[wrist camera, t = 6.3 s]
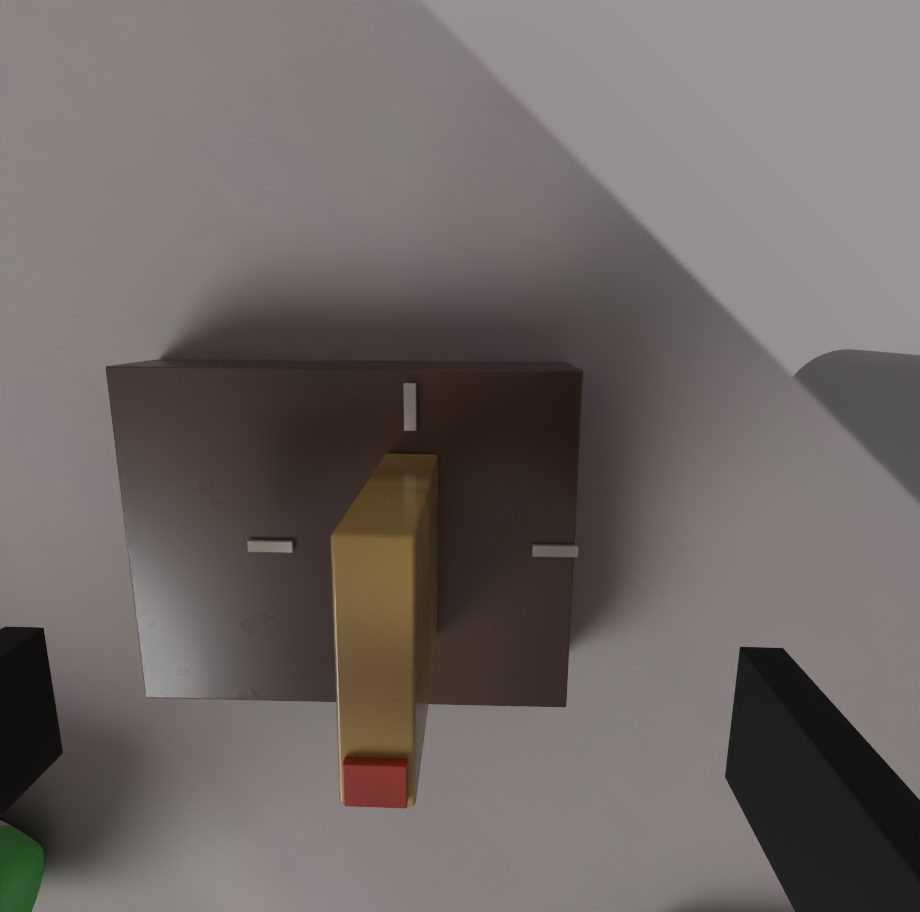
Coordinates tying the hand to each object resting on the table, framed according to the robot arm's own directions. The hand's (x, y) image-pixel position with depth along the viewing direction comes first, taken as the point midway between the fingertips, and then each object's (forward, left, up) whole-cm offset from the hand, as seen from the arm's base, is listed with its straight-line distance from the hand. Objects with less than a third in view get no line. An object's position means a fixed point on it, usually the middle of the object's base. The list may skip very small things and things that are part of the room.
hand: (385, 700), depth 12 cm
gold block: (0, 0, -8) cm, 8 cm away
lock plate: (+2, 0, -11) cm, 11 cm away
